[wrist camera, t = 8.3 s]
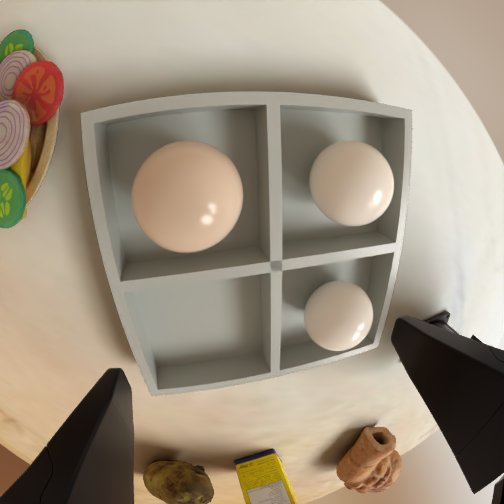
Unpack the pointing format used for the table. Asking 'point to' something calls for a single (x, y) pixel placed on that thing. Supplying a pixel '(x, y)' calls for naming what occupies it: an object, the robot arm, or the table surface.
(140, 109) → the crate
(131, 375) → the table surface
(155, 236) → the brown egg
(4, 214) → the toy food set
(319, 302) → the egg
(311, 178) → the egg
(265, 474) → the supplement box
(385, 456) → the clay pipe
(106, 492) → the robot arm
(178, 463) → the potato
